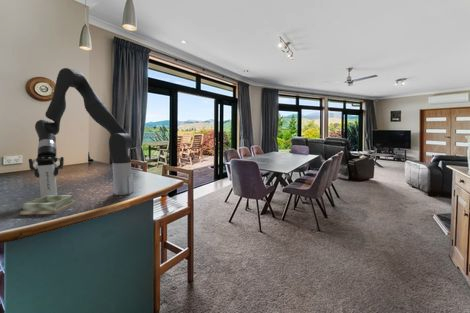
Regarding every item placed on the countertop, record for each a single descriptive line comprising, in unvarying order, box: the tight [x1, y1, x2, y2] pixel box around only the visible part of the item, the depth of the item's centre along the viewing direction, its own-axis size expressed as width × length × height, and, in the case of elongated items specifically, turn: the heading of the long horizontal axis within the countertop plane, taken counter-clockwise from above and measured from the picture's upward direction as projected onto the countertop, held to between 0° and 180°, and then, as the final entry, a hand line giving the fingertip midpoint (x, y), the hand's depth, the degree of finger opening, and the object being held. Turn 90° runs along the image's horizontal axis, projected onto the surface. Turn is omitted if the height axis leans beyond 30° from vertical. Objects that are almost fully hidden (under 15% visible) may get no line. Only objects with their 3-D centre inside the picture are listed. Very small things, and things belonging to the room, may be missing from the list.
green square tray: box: [19, 194, 77, 216], centre depth 102 cm, size 14×14×4 cm
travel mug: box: [36, 157, 58, 197], centre depth 112 cm, size 6×7×20 cm
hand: (46, 175), depth 110 cm, fingers closed on travel mug, 6 cm apart
